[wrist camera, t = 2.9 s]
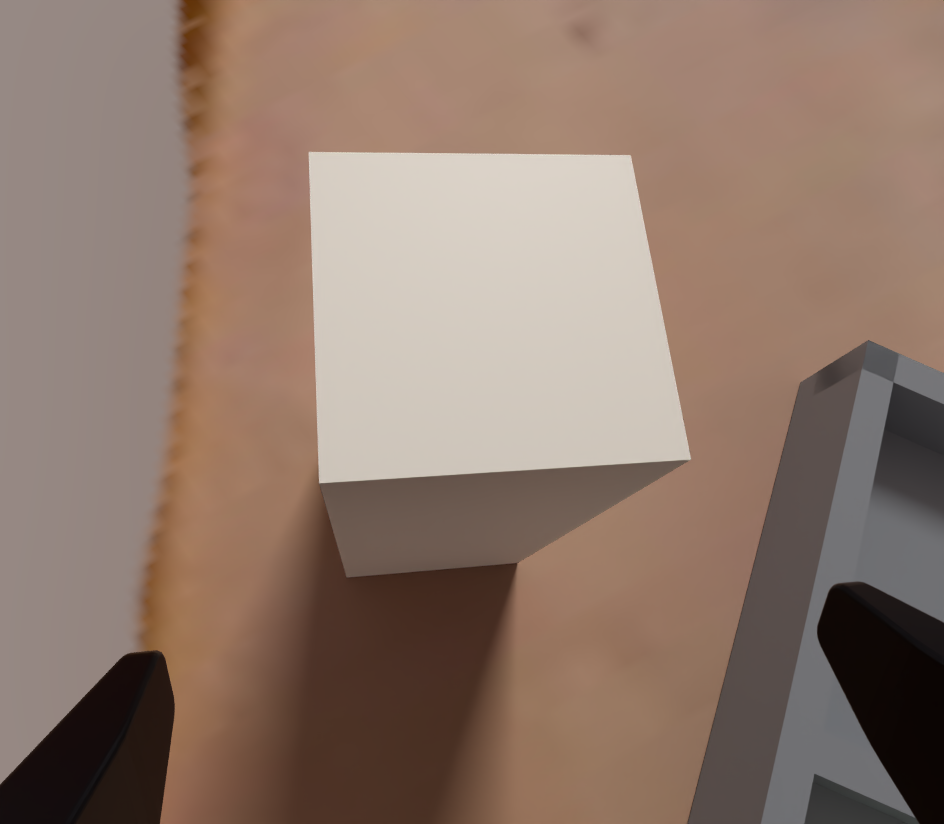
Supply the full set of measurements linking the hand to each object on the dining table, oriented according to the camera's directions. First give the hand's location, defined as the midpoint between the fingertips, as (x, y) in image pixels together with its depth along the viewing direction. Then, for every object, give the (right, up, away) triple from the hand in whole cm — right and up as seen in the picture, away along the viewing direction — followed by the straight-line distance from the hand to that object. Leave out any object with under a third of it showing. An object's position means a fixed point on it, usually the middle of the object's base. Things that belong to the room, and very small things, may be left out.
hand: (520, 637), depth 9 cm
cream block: (-2, +1, +12) cm, 12 cm away
